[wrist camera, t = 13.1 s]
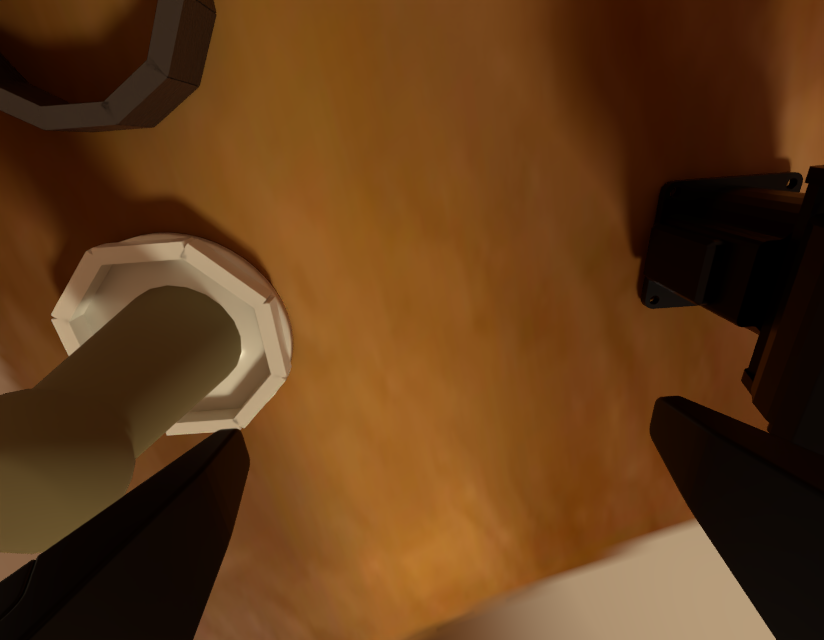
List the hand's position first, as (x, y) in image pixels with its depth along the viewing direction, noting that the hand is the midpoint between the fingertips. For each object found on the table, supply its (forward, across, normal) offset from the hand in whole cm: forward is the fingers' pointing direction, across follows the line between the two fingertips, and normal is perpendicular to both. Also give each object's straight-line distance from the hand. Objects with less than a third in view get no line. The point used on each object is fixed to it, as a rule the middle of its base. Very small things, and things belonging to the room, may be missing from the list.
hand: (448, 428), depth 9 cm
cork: (+12, +13, +3) cm, 18 cm away
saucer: (+13, +13, +3) cm, 19 cm away
